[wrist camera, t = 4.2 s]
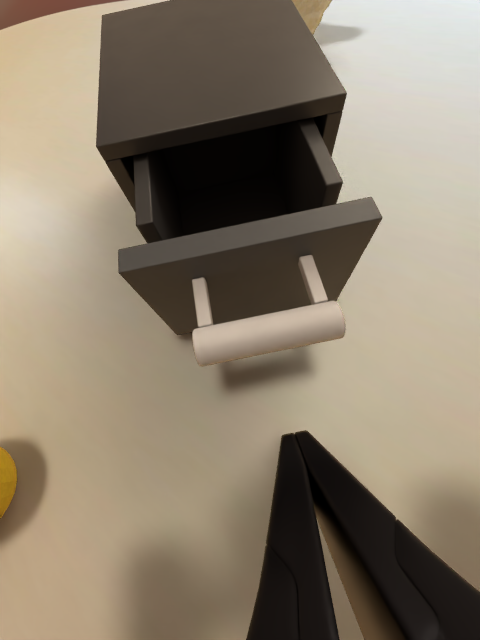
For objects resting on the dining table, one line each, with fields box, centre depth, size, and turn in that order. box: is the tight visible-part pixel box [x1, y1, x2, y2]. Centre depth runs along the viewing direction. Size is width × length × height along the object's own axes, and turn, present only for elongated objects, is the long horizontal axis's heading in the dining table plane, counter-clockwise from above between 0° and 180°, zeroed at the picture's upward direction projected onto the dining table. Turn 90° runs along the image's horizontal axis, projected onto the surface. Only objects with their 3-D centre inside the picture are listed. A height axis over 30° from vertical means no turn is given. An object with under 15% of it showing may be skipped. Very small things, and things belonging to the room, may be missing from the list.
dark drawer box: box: [96, 0, 347, 213], centre depth 19 cm, size 14×12×10 cm
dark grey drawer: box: [118, 117, 382, 366], centre depth 16 cm, size 16×11×8 cm, turn 10°
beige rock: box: [292, 0, 332, 35], centre depth 30 cm, size 15×7×15 cm
